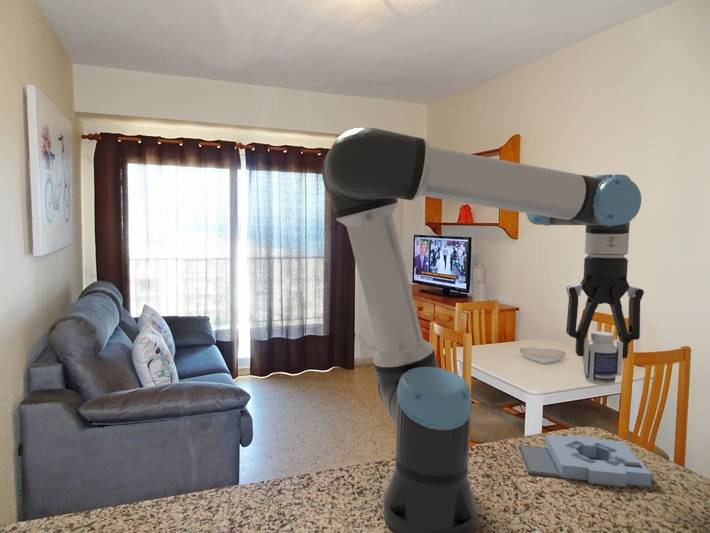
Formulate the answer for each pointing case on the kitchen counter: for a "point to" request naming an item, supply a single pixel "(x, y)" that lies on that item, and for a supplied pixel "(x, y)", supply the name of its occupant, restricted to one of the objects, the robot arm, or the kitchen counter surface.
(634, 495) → the kitchen counter surface
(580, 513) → the kitchen counter surface
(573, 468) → the dock
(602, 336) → the pill bottle
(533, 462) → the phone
